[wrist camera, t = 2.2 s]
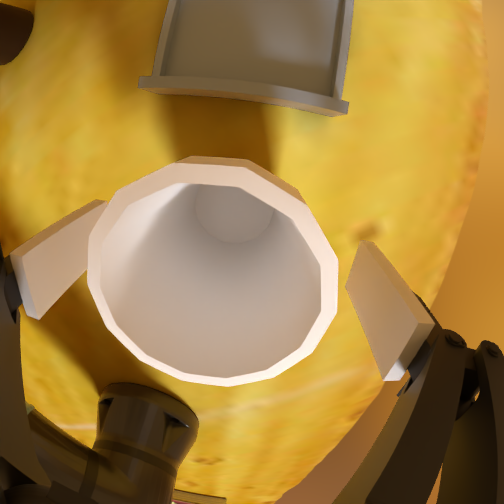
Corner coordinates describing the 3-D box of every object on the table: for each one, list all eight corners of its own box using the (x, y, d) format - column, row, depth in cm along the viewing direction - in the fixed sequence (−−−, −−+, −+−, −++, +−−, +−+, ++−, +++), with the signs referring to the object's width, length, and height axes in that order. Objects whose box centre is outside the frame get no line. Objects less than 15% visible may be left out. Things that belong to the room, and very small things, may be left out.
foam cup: (273, 126, 19) (294, 117, 7) (310, 237, 22) (357, 353, 11) (157, 172, 20) (49, 231, 9) (203, 272, 24) (161, 395, 12)
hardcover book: (221, 504, 60) (221, 514, 56) (156, 491, 58) (154, 501, 54) (228, 497, 55) (227, 509, 51) (154, 483, 53) (151, 495, 50)
